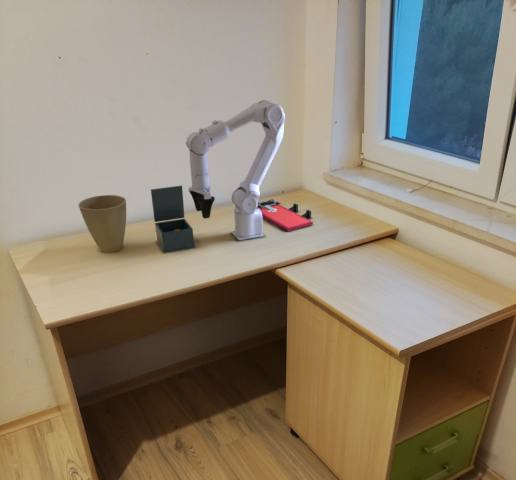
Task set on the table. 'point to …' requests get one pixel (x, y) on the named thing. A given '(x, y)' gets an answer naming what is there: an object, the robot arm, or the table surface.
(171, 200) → the bin lid
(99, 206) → the plant pot
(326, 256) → the table surface
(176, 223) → the bin
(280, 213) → the red board with handle
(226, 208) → the table surface
